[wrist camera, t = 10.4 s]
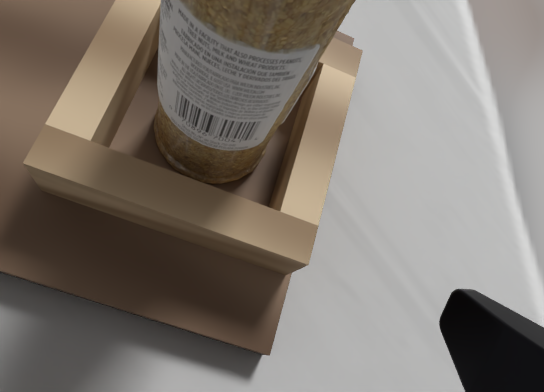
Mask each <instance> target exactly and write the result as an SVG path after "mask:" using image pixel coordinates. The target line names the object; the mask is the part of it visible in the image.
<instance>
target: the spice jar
mask: <svg viewBox="0 0 544 392" xmlns="http://www.w3.org/2000/svg"><path fill="white" fill-rule="evenodd" d="M354 2H355V0H161V5H160V26H159V46H158V76H157V86H158V94H159V103H158V109H157V111H156V114H155V120H154V132H155V138H156V142H157V145H158V147H159V149H160V152H161V153H162V155H163V156H164V157H165V159H166V160H167V162H168V163H169V164H170V165H171V166H172V167H173V168H174V169H176V170H177V171H179V172H180V173H182V174H183V175H185V176H187V177H190V178H193V179H194V180H197V181H200V182H205V183H212V184H222V183H226V182H231V181H234V180H238V179H240V178H241V177H243V176H245V175H247V174H248V173H250V172H252V171H253V170H254V169H255V168H256V167H257V165H258V164H259V162H260V161H261V159H262V158H263V156H264V155H265V153H266V147H267V145H268V143H269V141H270V139H271V138H272V136H273V135H274V133H275V131H276V130H277V128H278V126H279V125H281V124H282V123H283V122H284V121H285V119H286V118H287V116H288V115H289V113H290V112H291V110H292V108H293V107H294V105H295V104H296V102H297V100H298V99H299V97H300V95H301V94H302V92H303V91H304V89H305V88H306V86H307V84H308V83H309V81H310V79H311V78H312V76H313V74H314V72H315V70H316V68H317V64H318V61H319V60H320V58H321V57H322V55H323V54H324V52H325V50H326V48H327V47H328V45H329V43H330V42H331V40H332V39H333V37H334V35H335V33H336V31H337V30H338V28H339V26H340V25H341V23H342V21H343V20H344V18H345V16H346V14H347V13H348V12H349V10H350V8H351V6H352V4H353V3H354Z"/></svg>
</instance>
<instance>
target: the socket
mask: <svg viewBox="0 0 544 392" xmlns="http://www.w3.org/2000/svg"><path fill="white" fill-rule="evenodd" d="M160 5H161V0H0V272H2V273H5V274H8V275H11V276H14V277H18V278H21V279H24V280H27V281H30V282H34V283H37V284H40V285H43V286H46V287H49V288H53V289H56V290H59V291H62V292H65V293H68V294H72V295H75V296H78V297H81V298H84V299H88V300H91V301H94V302H97V303H100V304H103V305H107V306H110V307H113V308H116V309H119V310H122V311H126V312H129V313H132V314H135V315H138V316H141V317H145V318H148V319H151V320H154V321H157V322H161V323H164V324H167V325H170V326H173V327H176V328H180V329H183V330H186V331H189V332H192V333H195V334H199V335H202V336H205V337H208V338H211V339H215V340H218V341H221V342H224V343H227V344H230V345H234V346H237V347H240V348H243V349H246V350H249V351H253V352H256V353H259V354H262V355H270V352H271V349H272V345H273V341H274V337H275V334H276V330H277V326H278V322H279V319H280V315H281V311H282V307H283V304H284V300H285V296H286V292H287V289H288V285H289V281H290V277H291V274H292V272H294V271H296V270H298V269H301V268H303V267H305V266H307V265H309V261H310V257H311V253H312V249H313V245H314V241H315V237H316V233H317V229H318V225H319V221H320V217H321V213H322V209H323V205H324V201H325V197H326V193H327V190H328V186H329V182H330V178H331V174H332V170H333V166H334V162H335V158H336V154H337V150H338V146H339V142H340V138H341V134H342V130H343V126H344V122H345V118H346V115H347V111H348V107H349V103H350V99H351V95H352V91H353V87H354V83H355V79H356V75H357V71H358V67H359V63H360V59H361V55H362V50H360V49H358V48H356V47H353V46H352V45H353V41H354V38H352V37H350V36H348V35H345V34H343V33H341V32H339V31H336V33H335V35H334V37H333V39H332V40H331V42H330V43H329V45H328V47H327V48H326V50H325V52H324V54H323V55H322V57H321V58H320V60H319V61H318V64H317V68H316V70H315V72H314V74H313V76H312V78H311V79H310V81H309V83H308V84H307V86H306V88H305V89H304V91H303V92H302V94H301V95H300V97H299V99H298V100H297V102H296V104H295V105H294V107H293V108H292V110H291V112H290V113H289V115H288V116H287V118H286V119H285V121H284V122H283V123H282V124H281V125H279V126H278V128H277V130H276V131H275V133H274V135H273V136H272V138H271V139H270V141H269V143H268V145H267V147H266V153H265V155H264V156H263V158H262V159H261V161H260V162H259V164H258V165H257V167H256V168H255V169H254V170H253V171H252V172H250V173H248V174H247V175H245V176H243V177H241V178H240V179H238V180H234V181H231V182H226V183H222V184H212V183H205V182H200V181H197V180H194V179H193V178H190V177H187V176H185V175H183V174H182V173H180V172H179V171H177V170H176V169H174V168H173V167H172V166H171V165H170V164H169V163H168V162H167V160H166V159H165V157H164V156H163V155H162V153H161V152H160V149H159V147H158V145H157V142H156V138H155V132H154V120H155V114H156V111H157V109H158V103H159V94H158V86H157V76H158V46H159V26H160Z"/></svg>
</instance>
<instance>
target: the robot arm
mask: <svg viewBox="0 0 544 392" xmlns="http://www.w3.org/2000/svg"><path fill="white" fill-rule="evenodd" d="M439 325H440V330H441V333H442V335H443V338H444V340H445V343H446V345H447V348H448V350H449V353H450V355H451V358H452V360H453V363H454V365H455V368H456V370H457V372H458V375H459V377H460V380H461V382H462V385H463V387H464V390H465V392H544V328H543V327H542V326H540V325H538V324H536V323H534V322H532V321H531V320H529V319H527V318H525V317H523V316H521V315H520V314H518V313H516V312H514V311H512V310H510V309H509V308H507V307H505V306H503V305H501V304H499V303H498V302H496V301H494V300H492V299H490V298H488V297H487V296H485V295H483V294H481V293H479V292H477V291H475V290H472V289H456V290H454V291H453V292H452V293H451V295H450V297H449V299H448V301H447V304H446V306H445V308H444V310H443V312H442V315H441V317H440V321H439Z"/></svg>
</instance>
